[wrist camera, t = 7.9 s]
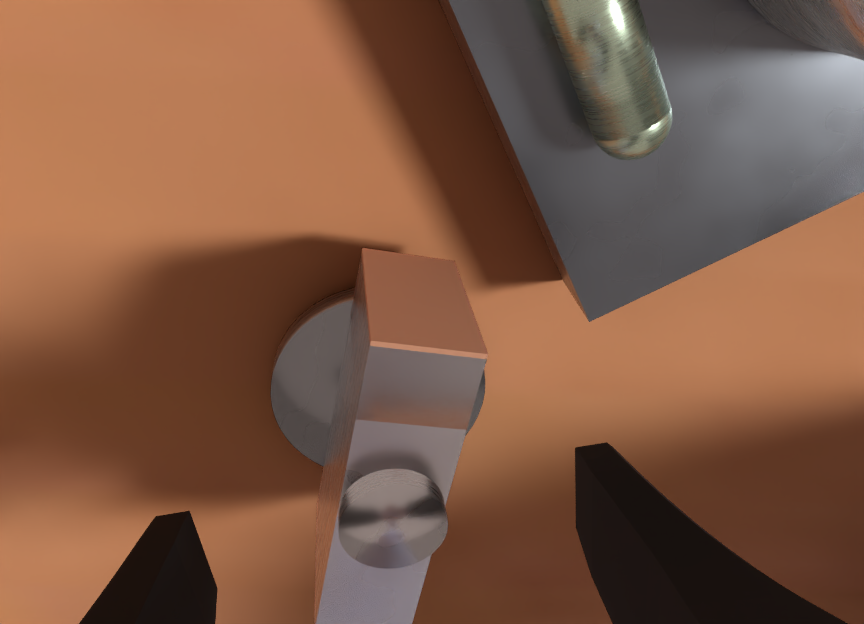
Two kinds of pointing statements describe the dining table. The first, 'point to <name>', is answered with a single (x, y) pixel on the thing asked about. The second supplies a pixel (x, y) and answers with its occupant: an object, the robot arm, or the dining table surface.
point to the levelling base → (668, 125)
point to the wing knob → (381, 426)
